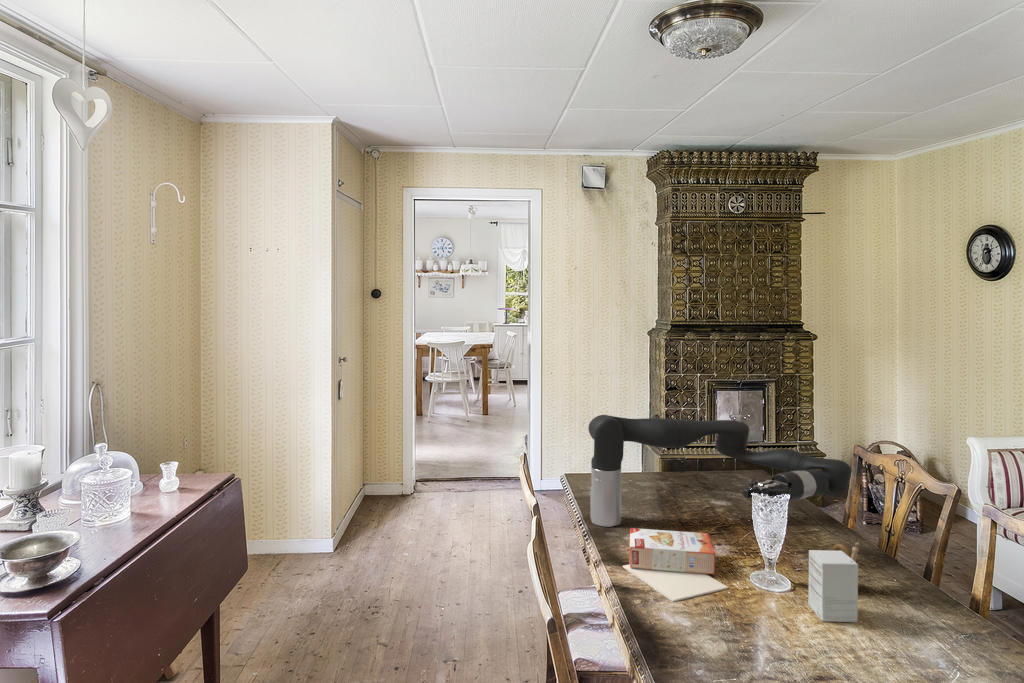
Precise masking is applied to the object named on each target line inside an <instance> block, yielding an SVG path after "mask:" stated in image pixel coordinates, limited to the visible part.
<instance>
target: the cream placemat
mask: <svg viewBox="0 0 1024 683" xmlns="http://www.w3.org/2000/svg"><path fill="white" fill-rule="evenodd" d="M622 568H624V570H626V571H627V572H628V573H630V574H632V575H633V576H635V577H636V578H637V579H639V580H641V581H642V582H643V583H645V584H646V585H648V586H649V587H651V588H652V589H653V590H655V591H656V592H658V593H659V594H661V595H662V596H664V597H665V598H667V599H668V600H669V601H671V602H673V603H675V602H678V601H682V600H686V599H687V600H688V599H690V598H695V597H698V596H703V595H707V594H711V593H715V592H716V593H717V592H719V591H724V590H729V586H727V585H725V584H724V583H722V582H720V581H719V580H716V579H715V578H713V577H712V576H710V575H709V574H703V573H690V572H678V571H665V570H653V569H641V568H630V563H629V564H625V565H622Z"/></svg>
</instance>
